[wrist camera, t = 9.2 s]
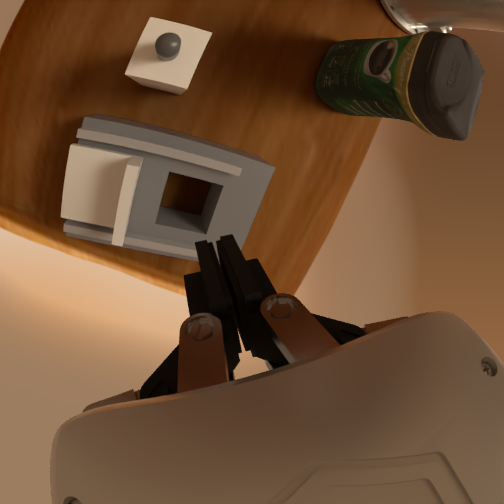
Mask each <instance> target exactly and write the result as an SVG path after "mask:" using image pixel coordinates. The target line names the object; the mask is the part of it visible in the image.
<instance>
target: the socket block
mask: <svg viewBox="0 0 504 504" xmlns="http://www.w3.org/2000/svg"><path fill="white" fill-rule="evenodd" d="M76 138H79V141H78V144H80V145H86V146H91V147H97V148H102V149H107V150H112V151H117V152H122V153H126V154H131V155H135V156H140V157H144V158H143V161H142V165H141V169H140V173H139V177H138V181H137V185H136V189H135V193H134V197H133V202H132V206H131V211H130V216H129V221H128V226H127V230H126V234H125V238H124V242H123V246H119V247H124V248H130V249H135V250H140V251H145V252H150V253H156V254H161V255H166V256H172V257H177V258H182V259H188V260H193V261H199V260H198V256H197V251H196V247H195V242H198V241H202V240H207V242H208V243H209V242H212V243H213V246H214V249H215V251H216V254H217V257H218V251H217V245H216V241H217V240H220V236H225V235H229V234H233V236H234V238H235V240H236V242H237V244H238V246H239V248H240V250H241V249H242V247H243V244H244V242H245V239H246V237H247V235H248V232H249V230H250V227H251V225H252V223H253V220H254V218H255V215H256V213H257V211H258V208H259V206H260V203H261V201H262V199H263V196H264V194H265V191H266V189H267V187H268V184H269V182H270V180H271V177H272V175H273V172H274V170H275V168H276V167H274V166H273V165H271V164H270V163H268V162H267V161H265V160H263V159H262V158H260V157H258V156H255V155H252V154H249V153H247V152H244V151H241V150H238V149H235V148H231V147H228V146H225V145H222V144H219V143H216V142H212V141H209V140H206V139H202V138H199V137H195V136H192V135H188V134H185V133H181V132H177V131H173V130H170V129H166V128H162V127H158V126H154V125H149V124H145V123H141V122H136V121H132V120H127V119H122V118H117V117H112V116H107V115H101V114H95V115H90V116H85V117H84V120H83V124H82V127H81V128H79V129H78V132H77V136H76ZM169 172H173V173H177V174H181V175H185V176H189V177H193V178H197V179H201V180H205V181H208V182H212V183H211V186H210V189H209V192H208V195H207V197H206V200H205V203H204V206H203V209H202V212H201V215H198V214H193V213H189V212H184V211H180V210H176V209H171V208H167V207H162V206H160V202H161V199H162V195H163V192H164V188H165V185H166V181H167V178H168V174H169ZM63 231H64V232H66V236H70V237H75V238H80V239H84V240H89V241H94V242H99V243H104V244H109V245H113V244H112V238H113V231H114V228H111V227H106V226H101V225H96V224H91V223H86V222H81V221H76V220H71V219H67V220H66V222H65V223H64V229H63ZM114 246H118V245H114ZM218 260H219V257H218ZM219 263H220V262H219Z"/></svg>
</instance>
